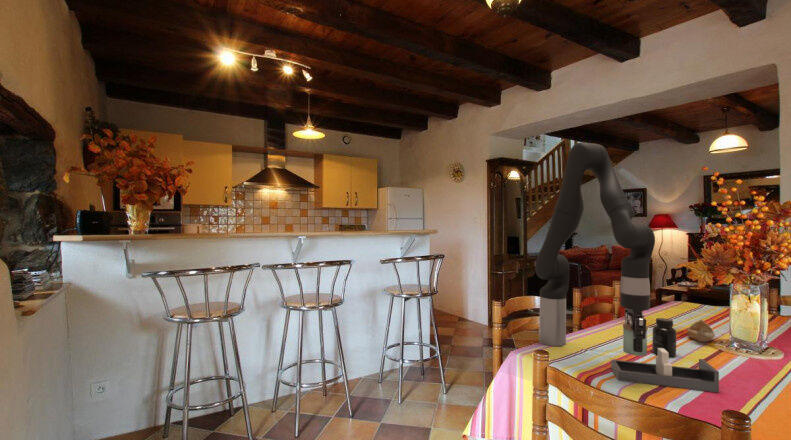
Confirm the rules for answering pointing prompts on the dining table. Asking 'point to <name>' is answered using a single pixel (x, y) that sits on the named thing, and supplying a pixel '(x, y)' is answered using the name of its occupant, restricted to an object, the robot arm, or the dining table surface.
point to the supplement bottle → (664, 336)
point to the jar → (629, 341)
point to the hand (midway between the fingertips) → (634, 347)
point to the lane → (681, 376)
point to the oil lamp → (701, 331)
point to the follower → (663, 363)
